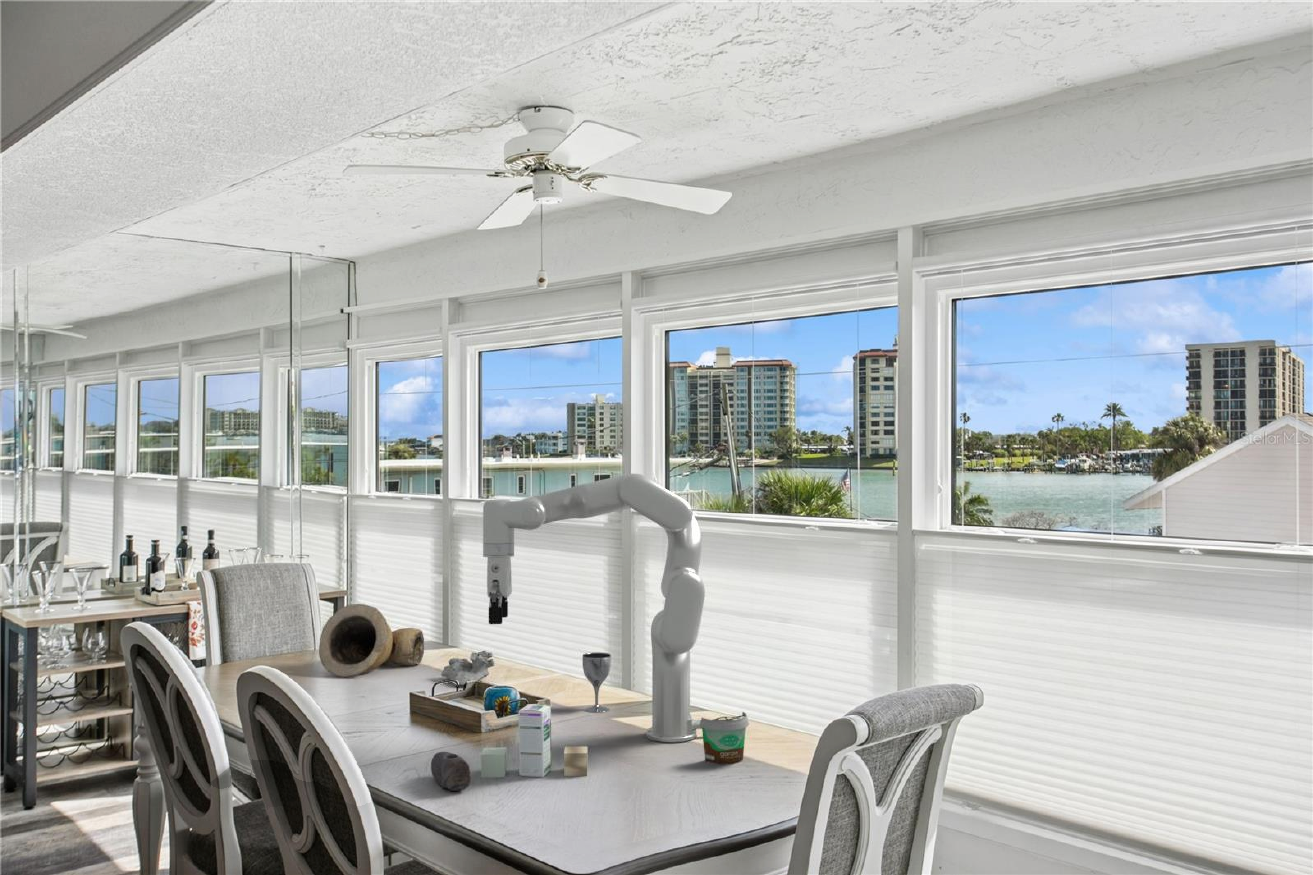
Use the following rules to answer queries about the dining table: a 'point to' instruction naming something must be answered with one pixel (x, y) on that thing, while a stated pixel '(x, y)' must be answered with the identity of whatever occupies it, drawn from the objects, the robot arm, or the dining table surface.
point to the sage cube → (493, 762)
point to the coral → (469, 667)
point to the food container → (724, 739)
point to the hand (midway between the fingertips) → (498, 620)
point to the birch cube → (575, 761)
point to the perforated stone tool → (450, 771)
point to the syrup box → (535, 740)
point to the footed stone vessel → (366, 642)
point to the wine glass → (596, 675)
